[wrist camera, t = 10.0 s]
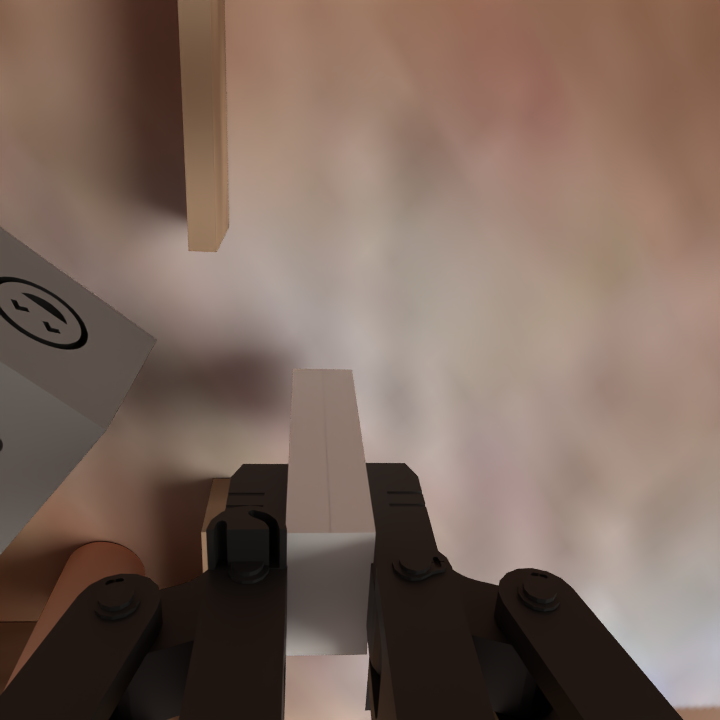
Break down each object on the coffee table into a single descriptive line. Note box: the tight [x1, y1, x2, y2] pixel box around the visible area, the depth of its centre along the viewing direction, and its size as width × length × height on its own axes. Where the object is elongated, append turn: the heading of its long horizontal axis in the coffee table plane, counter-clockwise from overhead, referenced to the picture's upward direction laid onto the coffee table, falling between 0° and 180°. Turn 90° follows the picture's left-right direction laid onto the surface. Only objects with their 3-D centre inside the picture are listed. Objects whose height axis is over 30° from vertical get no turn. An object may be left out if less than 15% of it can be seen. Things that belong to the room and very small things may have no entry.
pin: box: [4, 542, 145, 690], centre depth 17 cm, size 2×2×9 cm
